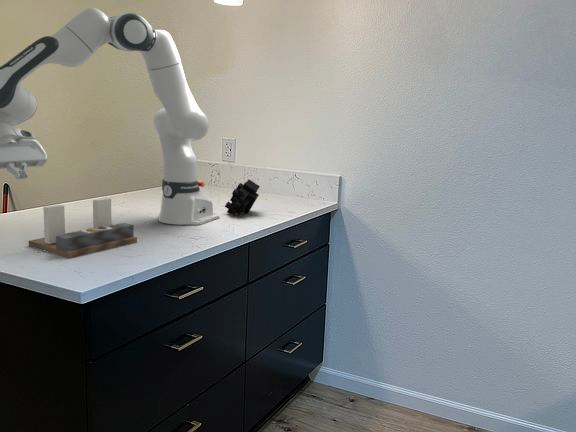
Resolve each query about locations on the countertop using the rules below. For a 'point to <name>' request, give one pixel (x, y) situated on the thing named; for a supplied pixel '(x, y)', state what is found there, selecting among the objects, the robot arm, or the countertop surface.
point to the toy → (243, 198)
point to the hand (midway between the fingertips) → (22, 177)
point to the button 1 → (53, 222)
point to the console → (88, 240)
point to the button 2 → (101, 212)
